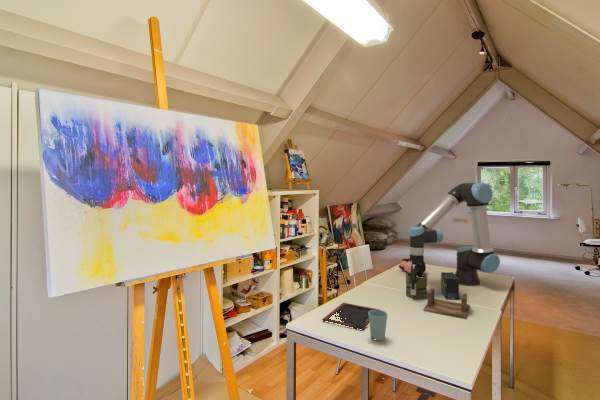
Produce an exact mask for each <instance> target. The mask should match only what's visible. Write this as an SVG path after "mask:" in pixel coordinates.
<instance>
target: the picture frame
mask: <svg viewBox="0 0 600 400" xmlns="http://www.w3.org/2000/svg"><path fill="white" fill-rule="evenodd" d="M371 310H381V309H380V308H374V307H369V306H365V305H364V306H363V305H358V304H352V303H347V302H342V303H341V304H340V305H338V306H337V307H336V308H334V309H333V310H332V311H331V312H330V313H328V314H327V315H325V316H324V317H323V318H322V319H321V321H322V320H323V321H328V322H333V323H337V324H341V325H345V326H349V327H353V328H358V329H362V330H364V329H365V328H366V329H367V327H368V326H369V325H370V324H369V315H368V312H369V311H371ZM340 311H341V312H340ZM336 312H337V314H338V313H339V316H338V315H337V316H338V317H340V320H341V321H342V322H340V321H335V320H331V319H329V318H330V317H331V316H332V315H334V314H336ZM337 316H336V315H335V317H337ZM341 318H342V319H341ZM345 318H346V319H345ZM336 319H337V318H336ZM338 319H339V318H338ZM343 321H344V322H343ZM368 324H369V325H368ZM367 325H368V326H367ZM366 326H367V327H366ZM366 329H365V330H366ZM365 330H364V331H365Z"/></svg>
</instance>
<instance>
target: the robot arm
mask: <svg viewBox="0 0 600 400" xmlns="http://www.w3.org/2000/svg"><path fill="white" fill-rule="evenodd" d="M492 190H493V189H492V187H491V186H490V185H488V183H485V182H462V183H460V184H458V185H456V186H454V187H453V188H452V189H450V190H449V191H448V192H447V193H446V194H445V195H444V198H443V200H442V201H440V202H439V203H438V205H436V206H435V207H434V208H433V209H432V210H431V211H430V212H429V213H428V214H427V215H426V216H425V217H424V218H423V219H422V220H421V221H420V222H419V223H418V224H417V225H414V226H410V228H409V229H408V232H407V233H408V236H409V247H408V250H409V259H410V261H412V262H413V264H412V265H411V275H410V281H409V283H411V295H416V277H418V278H422V277H423V276H424V273H423V272H422V262H423V261H424V258H425V257H424V256H425V255H424V253H425V246H424V245H425V244H438V243H441V242H442V241H443V239H444V234H443V232H442V230H441V229H435V228H434V227H435V226H436V225H437V224H438V223H440V222H441V220H443V219H444V218H445V216H446V215H448V214H449V213H450V212H451V210H452V209H454V208H455V207H458V206H459V205H461V204H462V203H466V207H467V208H468V209H469V211H470V220H471V221H470V222H471V229H472V238H473V244H474V245H473V246H459V247H457V248H456V271H455V273H454V274H455V275H456V276H457V277H458V278H459V285H463V286H478V285H480V283H481V280H480V277H479V274H478V271H480V272H482V273H488V274H491V273H494V272H495V271H497V270H498V268H499V267H500V263H501V260H500V257H499V256H498V255H497V254H496V253H495V249H494V248H493V247H492V246H491V239H490V238H491V237H490V230H489V229H490V228H489V221H488V213H487V212H488V211H487V207H488V206H489V205H490V204H489V203H490V202H491V200H492V198H493V191H492ZM433 228H434V229H433ZM424 262H425V261H424Z"/></svg>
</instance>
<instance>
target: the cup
mask: <svg viewBox="0 0 600 400" xmlns="http://www.w3.org/2000/svg"><path fill="white" fill-rule="evenodd" d="M368 315H369V323H370V324H369V330H370V338H371V337H372V338H373V339H376V340H382V341H384V340H385V339H384V338H386V329H387V320H388V312H386V311H384V310H381V309H380V310H371V311H369V312H368ZM372 338H371V339H372ZM373 339H372V340H373ZM383 339H384V340H383ZM376 340H375V341H376Z"/></svg>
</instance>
